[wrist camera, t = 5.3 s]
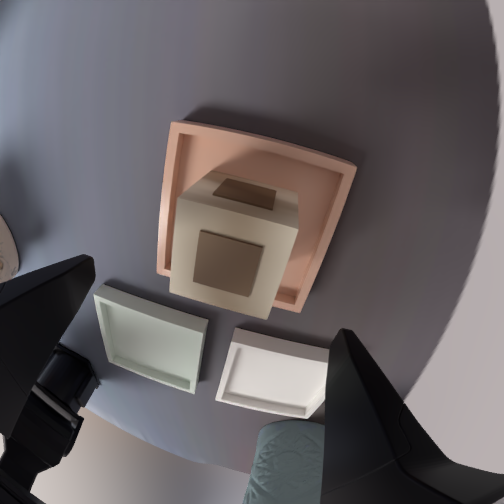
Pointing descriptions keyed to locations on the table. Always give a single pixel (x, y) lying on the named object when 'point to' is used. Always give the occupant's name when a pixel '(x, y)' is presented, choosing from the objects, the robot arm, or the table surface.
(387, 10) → the table surface
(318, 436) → the teal patterned cup
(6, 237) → the teacup with lid
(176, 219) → the letter cube
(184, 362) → the dish
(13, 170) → the table surface
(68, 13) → the table surface
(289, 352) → the dish
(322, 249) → the dish
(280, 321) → the table surface
